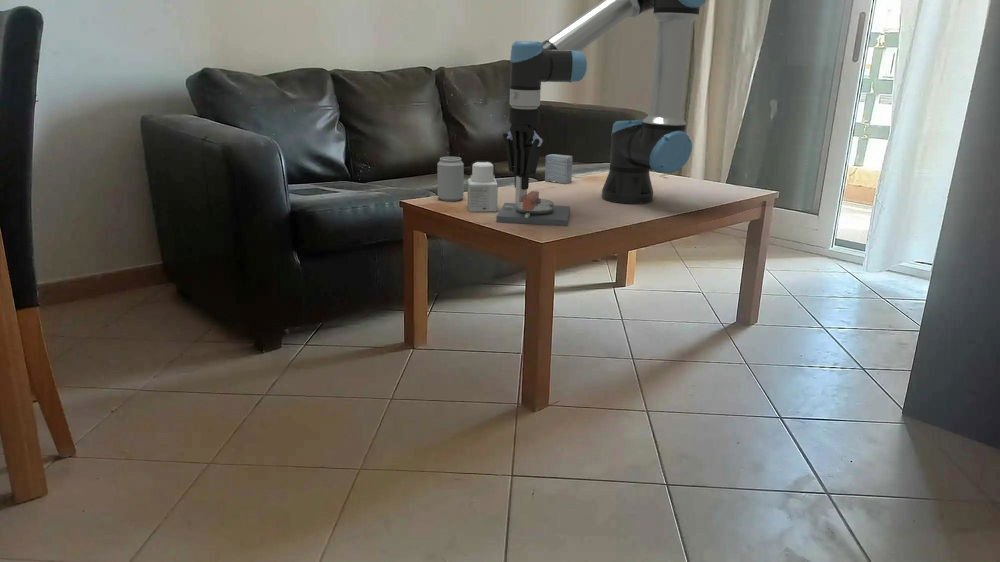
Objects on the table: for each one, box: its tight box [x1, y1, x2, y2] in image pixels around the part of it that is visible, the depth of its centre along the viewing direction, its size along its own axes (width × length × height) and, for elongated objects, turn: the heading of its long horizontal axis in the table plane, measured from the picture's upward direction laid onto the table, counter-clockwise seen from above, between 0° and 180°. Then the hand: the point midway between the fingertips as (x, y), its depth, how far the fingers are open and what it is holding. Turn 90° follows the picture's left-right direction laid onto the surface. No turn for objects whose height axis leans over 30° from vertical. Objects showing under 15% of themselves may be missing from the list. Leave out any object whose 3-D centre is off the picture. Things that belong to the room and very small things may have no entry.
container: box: [467, 160, 499, 213], centre depth 197 cm, size 8×8×13 cm
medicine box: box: [544, 153, 574, 185], centre depth 236 cm, size 8×4×9 cm, turn 59°
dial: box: [515, 190, 555, 214], centre depth 188 cm, size 14×10×5 cm
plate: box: [495, 202, 571, 227], centre depth 191 cm, size 18×16×2 cm
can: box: [436, 156, 465, 202], centre depth 208 cm, size 8×8×12 cm
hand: (520, 201), depth 185 cm, fingers closed
